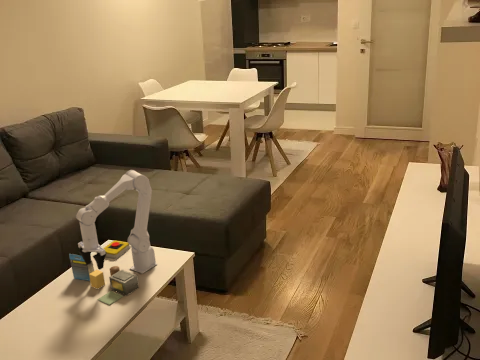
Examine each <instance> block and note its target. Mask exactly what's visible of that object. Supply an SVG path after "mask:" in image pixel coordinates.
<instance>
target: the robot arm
mask: <svg viewBox="0 0 480 360" xmlns="http://www.w3.org/2000/svg"><path fill="white" fill-rule="evenodd" d="M134 190H135V191H136V192H137V193H138V195H137V204H136V209H135V210H136V211H135V219H134V226H133V228H132V229H131V230H130V234H129V236H128V237H127V242H128V243H129V246H131V248H130V249H131V255H132V264H133V266H130V267H129V269H130V270H132V271H135V272H137V273H140V274H144V273H146V272H147V271H148V270H151V269H153V267H155V266H156V265H158V263H157V262H156V256H155V249H154V248H153V247H152V246H151V242H150V234H149V232H148V222H149V217H150V208H151V201H152V193H153V188H152V187H151V183H150V179H149V178H148V177H147V176H146V175H145V174H141V173H139V172H137V171H136V170H135V169H130V170H127V171H126V172H125V173H124V174H123V175H122V176H121V178H120V179H119V180H118V181H117V183H115V184H114V185H113V186H112V187H111V188H110V189H109V190H108V191H107V192H105V194H104V195H98V196H95V197H94V199H93V200H92V201H91V202H90V203H89V204H87V205H85V206H84V207H81V208H79V210H78V211H77V213H76V215H75V218H76V220H78V222H79V226H80V233H81V239H82V241H80V242H78V243H77V245H78V248H79V249H78V250H77V252H78V253H79V255H80V256H82V257H83V259H84V261H85V263H86V265H88V264H90V263H91V260H92V258H93V259H94V261H95V263H96V267H97V270H99V271H101V270H102V269H104V265H105V260H104V259H105V256H106V254H107V252H106V251H105V249H103V248H104V247H102V246H101V245H100V244H99V240H98V235H97V229H96V223H95V222H96V220H97V217H98V216H99V215H100V214H101V213H103V212H104V211H105V210H107V208H108V207H109V206H110V202H111V201H113V200H114V199H115V198H116V197H118V196H119V195H121V194H122V193H123V192H125V191H134ZM91 253H95V254H94V255H92V254H91Z"/></svg>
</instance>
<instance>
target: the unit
mask: <svg viewBox="0 0 480 360" xmlns="http://www.w3.org/2000/svg"><path fill="white" fill-rule="evenodd" d="M109 285H110V289H112V290H111V291H113V290H114V291H113V292H116V291H117V292H116V293H118V294H120V293H121V294H120V295H123V296H126V297H127V296H129V295H131V293H133V292H134V291H136V290H138V289H139V288H140V286H139V285H140V284H139V278H138V274H135V273H133V272H130V271H128V270H124V269H120V271H118V272H117V273H115V274H114V275H112V276H111V275H110V276H109Z"/></svg>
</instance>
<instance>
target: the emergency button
mask: <svg viewBox="0 0 480 360" xmlns="http://www.w3.org/2000/svg"><path fill="white" fill-rule="evenodd" d="M102 248H103V249H105V251H106V252H107V254H106V256H105V259H104V261H108V262H109V261H110V262H114V261H115V262H116V260H117V259H118V258H120V257H121V256H122V255H123V254H125V253H127V251H129V250H130V249H132V248H131V245H129V243H128V241H127V242H126V241H121V240H112V242H111V241H110V243H108V244H107V245H106V246H105V247H102Z"/></svg>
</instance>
